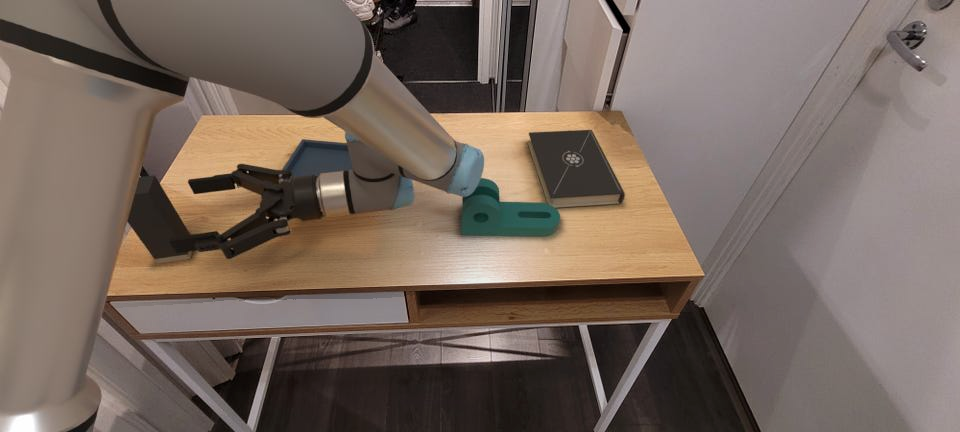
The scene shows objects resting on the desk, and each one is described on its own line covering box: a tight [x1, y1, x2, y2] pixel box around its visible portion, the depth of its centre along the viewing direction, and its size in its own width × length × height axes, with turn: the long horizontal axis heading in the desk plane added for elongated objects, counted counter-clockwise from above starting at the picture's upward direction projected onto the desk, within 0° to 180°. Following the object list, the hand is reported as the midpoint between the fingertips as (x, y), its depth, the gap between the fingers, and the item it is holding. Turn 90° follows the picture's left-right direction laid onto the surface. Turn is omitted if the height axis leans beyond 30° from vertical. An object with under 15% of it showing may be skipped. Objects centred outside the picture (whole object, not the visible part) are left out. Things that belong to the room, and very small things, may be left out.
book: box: [526, 129, 626, 209], centre depth 96 cm, size 22×15×3 cm
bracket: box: [461, 177, 561, 238], centre depth 83 cm, size 18×7×8 cm, turn 90°
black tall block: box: [127, 175, 193, 265], centre depth 73 cm, size 5×4×15 cm
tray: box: [281, 138, 353, 179], centre depth 94 cm, size 19×14×2 cm
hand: (182, 214), depth 73 cm, fingers open, 13 cm apart
